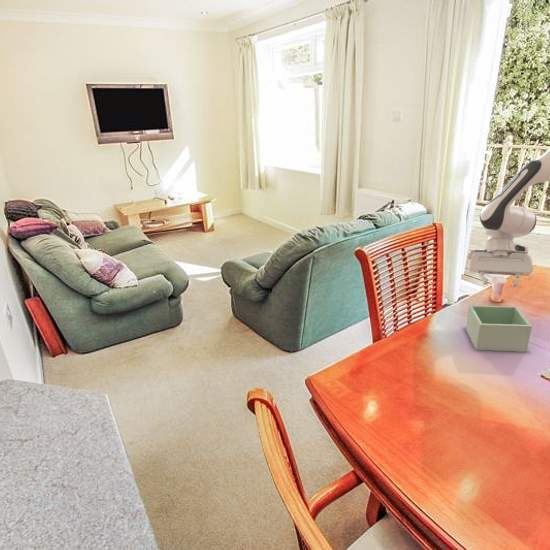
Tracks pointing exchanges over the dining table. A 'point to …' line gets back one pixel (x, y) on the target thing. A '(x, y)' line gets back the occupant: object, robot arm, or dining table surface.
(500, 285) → the milkshake
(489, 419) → the dining table surface
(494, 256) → the robot arm
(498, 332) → the sage green open box
